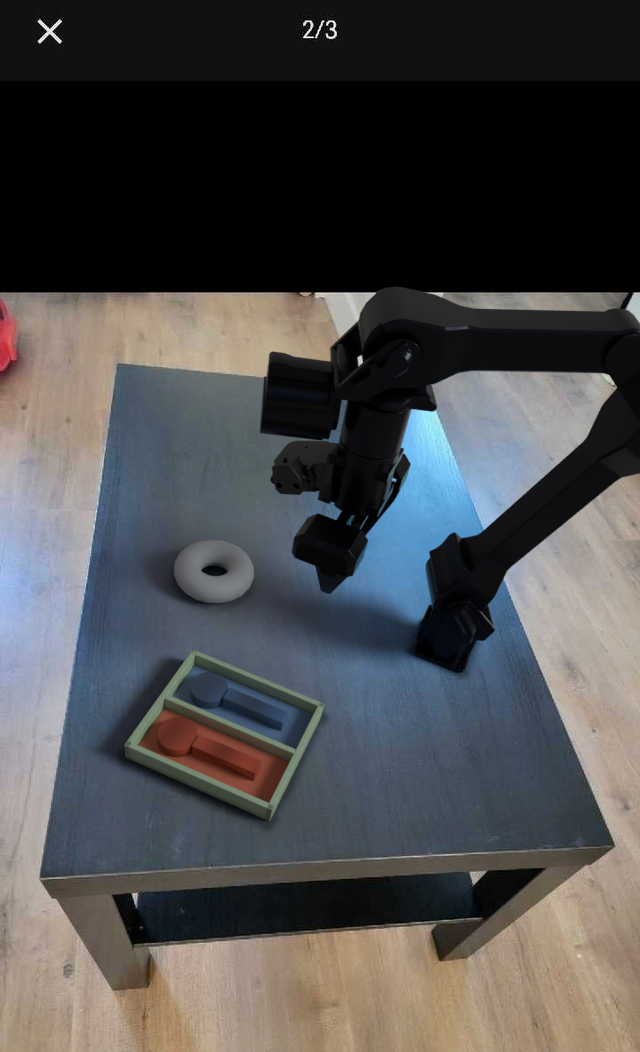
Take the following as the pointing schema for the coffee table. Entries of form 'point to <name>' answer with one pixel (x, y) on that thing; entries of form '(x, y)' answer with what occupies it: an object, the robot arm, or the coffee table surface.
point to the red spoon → (203, 748)
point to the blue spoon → (233, 700)
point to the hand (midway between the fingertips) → (340, 565)
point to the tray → (229, 736)
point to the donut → (213, 586)
